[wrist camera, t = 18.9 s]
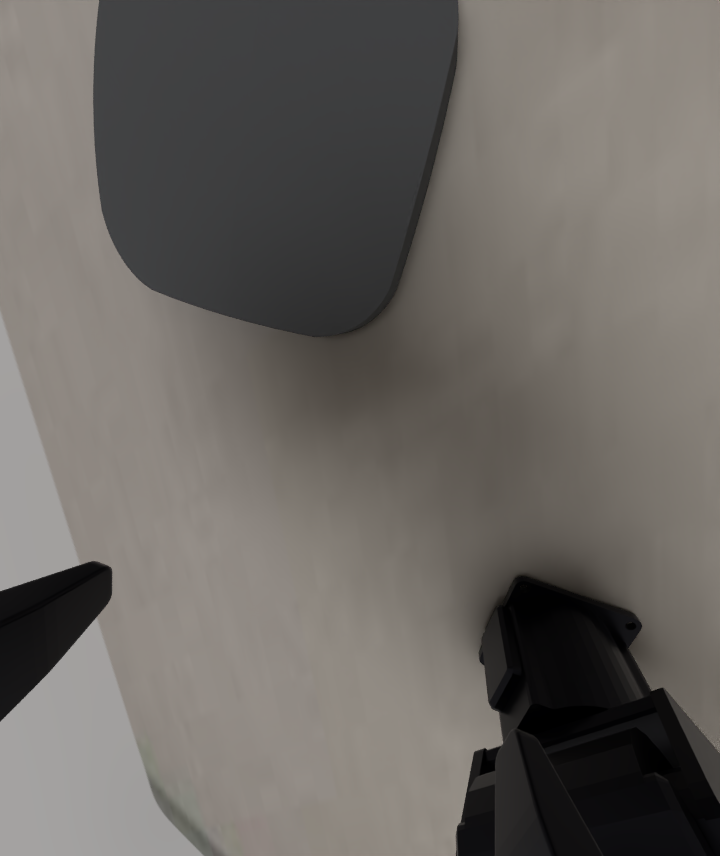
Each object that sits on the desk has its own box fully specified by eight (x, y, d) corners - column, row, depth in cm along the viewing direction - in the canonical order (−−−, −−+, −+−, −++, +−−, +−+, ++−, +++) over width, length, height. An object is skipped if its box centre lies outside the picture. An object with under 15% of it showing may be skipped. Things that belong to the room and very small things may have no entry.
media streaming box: (383, 353, 19) (372, 359, 16) (136, 281, 21) (87, 276, 18) (486, -26, 14) (497, -112, 11) (149, -75, 16) (85, -160, 13)
